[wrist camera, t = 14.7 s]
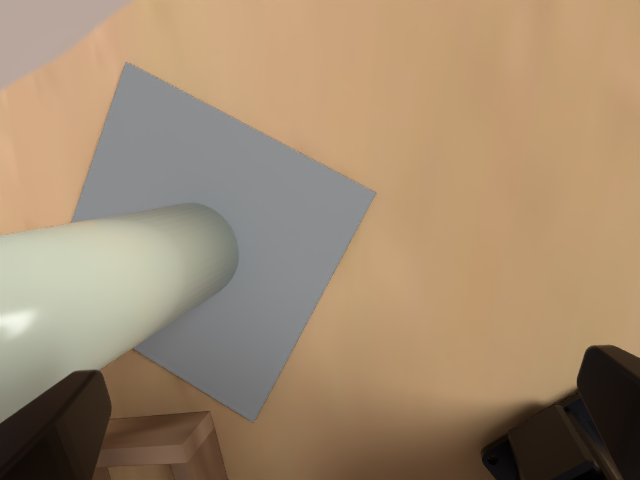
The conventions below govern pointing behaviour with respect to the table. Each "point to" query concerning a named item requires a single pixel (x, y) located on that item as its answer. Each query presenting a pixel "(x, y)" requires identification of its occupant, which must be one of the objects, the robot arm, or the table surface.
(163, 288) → the green bottle
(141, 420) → the brown square open box
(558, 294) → the table surface
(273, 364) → the mat
